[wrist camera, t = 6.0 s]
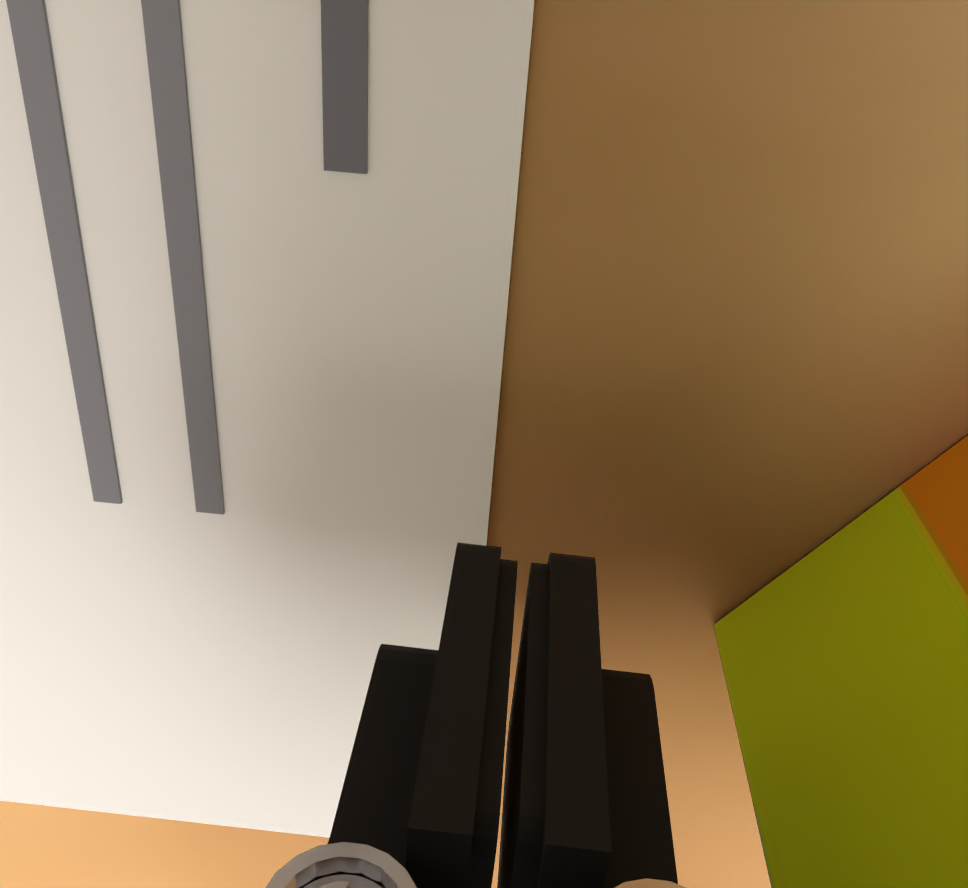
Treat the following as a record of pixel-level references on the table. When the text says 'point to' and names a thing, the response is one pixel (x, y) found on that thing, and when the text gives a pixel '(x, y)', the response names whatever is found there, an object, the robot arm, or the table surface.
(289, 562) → the letter
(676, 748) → the table surface
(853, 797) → the puzzle toy
